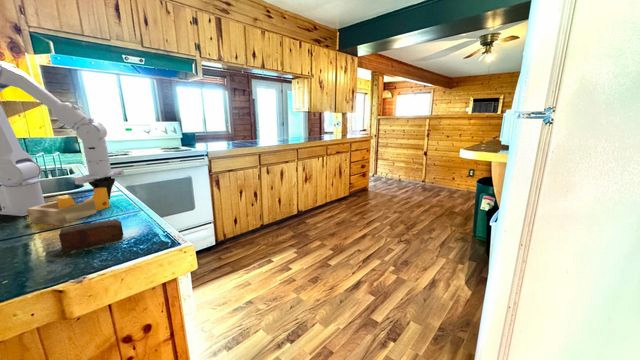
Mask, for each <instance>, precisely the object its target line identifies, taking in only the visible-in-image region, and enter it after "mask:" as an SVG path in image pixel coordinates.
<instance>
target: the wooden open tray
mask: <svg viewBox="0 0 640 360" xmlns="http://www.w3.org/2000/svg"><path fill="white" fill-rule="evenodd" d="M84 201H85V200H84ZM84 201H83V202H78V203H76V204H75V205H72V206H68V207H65V208H61V209H59V206H58V202H57V200H55V201H50V202H47V203H45V204H43V205H39V206H35V207H31V208H27V212H28V218H29V221H30V223H34V224H43V225H44V224H46V225H56V226H63V225H65V224H69V223H71V222H74V221H76V220H80V219H82V218H86V217H89V216H91V215H94V214H98V213H97V212H98V211H96V207H95V203H94V200H89V201H85V202H84Z"/></svg>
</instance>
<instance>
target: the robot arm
mask: <svg viewBox="0 0 640 360" xmlns="http://www.w3.org/2000/svg"><path fill="white" fill-rule="evenodd" d="M9 87H14V88H17V89H19V90H21V91H23V92H25V93H26V94H27V95H29V96H31V97H32V98H33V99H35V100H37V101H38V102H40V103H41V104H43V105H44V106H46V107H47V108H49V109H50V110H51V114H52V117H53V118H56V119H57V120H58V121H59V122H61V123H62V124H64V125H65V126H66V127H68V128H69V129H71V130H73V132H75V134H76V136H77V138H78V139H79V140H81V143H82V148H83V153H84V158H85V162H86V167H87V171H88V174H85V175H81V176H78V177H73V180H74V184H75V185H80V186H81V185H84V184H87V183H88V184H89V186H91V187H92V188H93V190H94V189H95V188H99V187H103V188H107V193H108V198H109V201H110V200H111V194H112V189H113V186H114V184H115V182H116V178H115V177H117V176H118V177H119V176H124V175H125V172H124V169H119V168H118V169H112V168H111V161H110V155H109V151H108V146H107V142H106V137H107V134H108V132H107V128H106V127H105V126H104V125H103V124H102V123H101V122H96V121H95V119H94V118H92V117H89V116H87V114H85V113H84V112H82V111H81V110H79V109H80V107H79V106H77V105H76V104H71V103H70V102H61V100H59V99H58V98H57V97H55V96H54V95H53V94H52V93H50V91H48V90H47V89H46V88H44V87H43V86H42V85H40V83H38V82H37V81H35V79H33V78H32V77H31V76H29V74H27V73H26V72H25V71H24V70H22V69H19V68H18V67H17V66H16V65H14V64H13V63H10V62H8V61H4V60H0V93H1V92H3V90H4V89H8V88H9ZM41 174H42V167H41V165H40V164H39V163H38V162H37V161H35V160H34V159H33V157H32V155H31V154H29V153H28V152H26V151H25V150H23V147H22V146H21V144H20V142H19V140H18V137H17V136H16V134H15V131H14V129H13V127H12V126H11V123H10V121H9V119H8V117H7V115H6V113H5V111H4V108H3V107H2V105H1V104H0V185H1V186H0V209H1V211H0V215H5V216H6V215H8V216H17V217H18V216H19V217H23V216H27V215H28V212H27V208H31V207H35V206H39V205H43V204H46V202H45V198H44V195H43V191H42V187H41V183H40V180H39V176H41ZM28 216H29V215H28Z"/></svg>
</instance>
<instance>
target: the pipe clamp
mask: <svg viewBox="0 0 640 360" xmlns="http://www.w3.org/2000/svg"><path fill="white" fill-rule="evenodd" d="M89 200H94V203H95V207H96V212H99V211H101V210H104V209H107V208H109V207H111V204H110V200H109V198H108V193H107V188H103V187H99V188H95V189H94V188H93V195H92V197H90V198H87V199H85V200H84V201H83V202H85V201H89ZM56 201H57V202H58V206H59V209H61V208H65V207H68V206H72V205H75V204H77V203H76V202H75V201H74V199H73V196H66V195H65V196H64V195H63V196H61V197H60V196H59V197H57V198H56Z"/></svg>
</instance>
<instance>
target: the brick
mask: <svg viewBox="0 0 640 360" xmlns="http://www.w3.org/2000/svg"><path fill="white" fill-rule="evenodd" d="M122 224H123V223H122V221H120V220H118V219H117V218H116V219H108V220H102V221H97V222H91V223H86V224H85V223H84V224H78V225H71V226H66V227H63V228H61V229H60V230H59V233H58V236H59V242H60V246H61V249H62V251H63V253H67V252H71V251H72V252H73V251H77V250H81V249H86V248H91V247H94V246H95V247H96V246H99V245H103V244H108V243H113V242H116V241H121V240H122V239H123V236H124V231H123V226H122Z"/></svg>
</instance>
